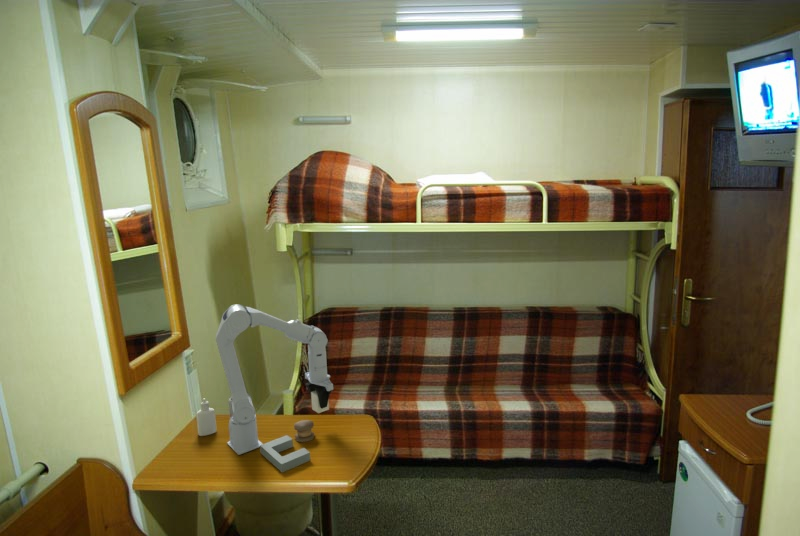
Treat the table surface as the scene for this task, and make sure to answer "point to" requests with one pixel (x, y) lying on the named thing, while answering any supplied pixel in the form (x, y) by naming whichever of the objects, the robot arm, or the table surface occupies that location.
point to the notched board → (288, 460)
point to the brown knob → (304, 430)
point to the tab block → (317, 403)
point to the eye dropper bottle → (206, 419)
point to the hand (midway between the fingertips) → (320, 405)
